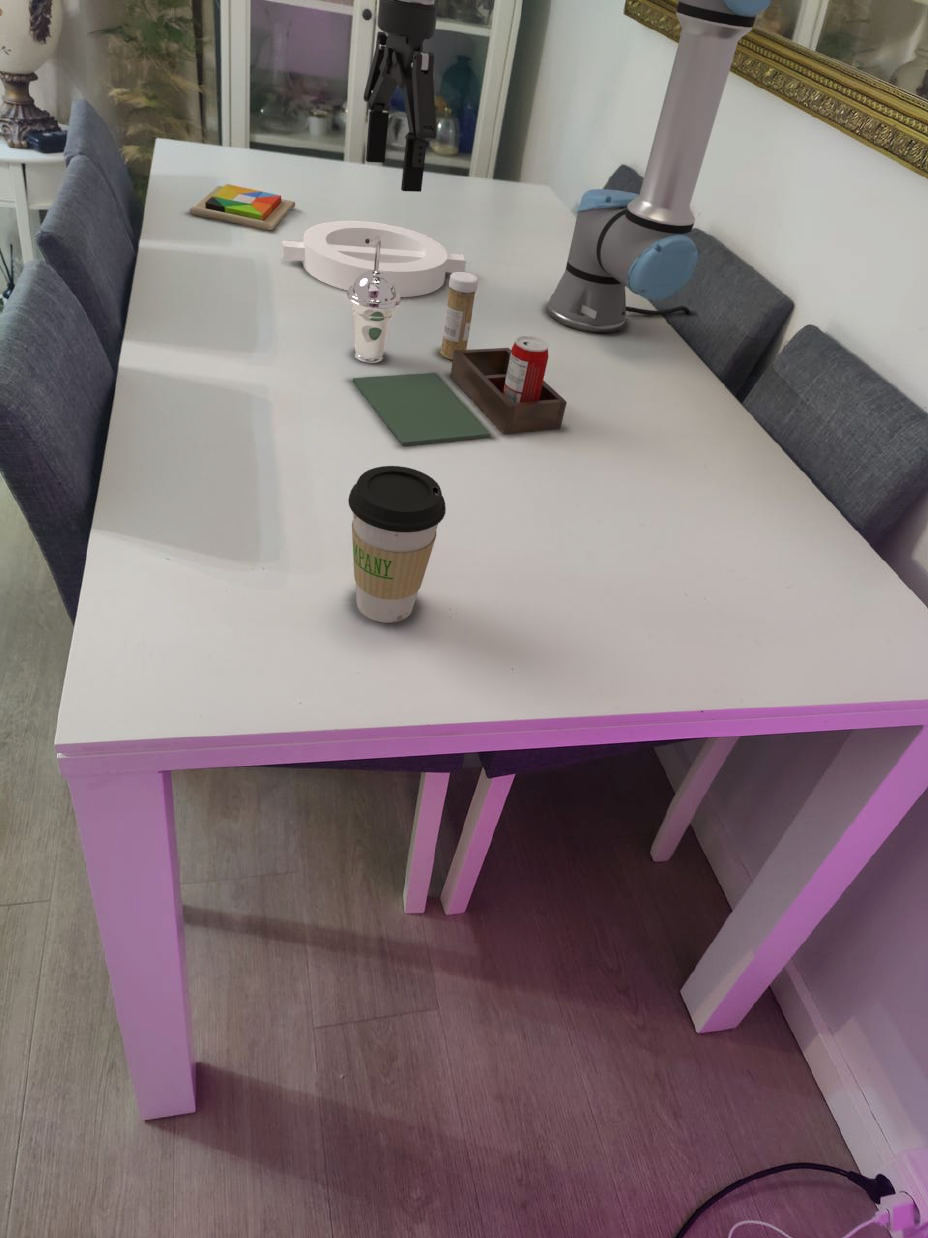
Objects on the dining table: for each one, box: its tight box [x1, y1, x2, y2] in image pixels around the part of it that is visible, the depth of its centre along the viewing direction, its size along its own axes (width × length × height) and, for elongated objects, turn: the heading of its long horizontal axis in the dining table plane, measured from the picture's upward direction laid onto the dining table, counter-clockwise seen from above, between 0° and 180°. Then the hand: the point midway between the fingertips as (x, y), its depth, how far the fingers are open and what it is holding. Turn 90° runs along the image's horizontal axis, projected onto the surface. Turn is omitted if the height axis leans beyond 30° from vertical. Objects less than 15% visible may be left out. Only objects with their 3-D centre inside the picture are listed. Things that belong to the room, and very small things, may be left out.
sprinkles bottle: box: [439, 271, 479, 361], centre depth 149 cm, size 5×5×13 cm
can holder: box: [449, 347, 568, 435], centre depth 141 cm, size 10×19×4 cm, turn 25°
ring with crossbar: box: [281, 220, 467, 298], centre depth 177 cm, size 28×28×5 cm
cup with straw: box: [346, 236, 402, 364], centre depth 141 cm, size 8×9×20 cm
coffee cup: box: [347, 465, 447, 624], centre depth 94 cm, size 10×10×15 cm
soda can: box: [503, 335, 549, 403], centre depth 135 cm, size 6×6×12 cm
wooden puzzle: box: [188, 183, 296, 231], centre depth 192 cm, size 18×19×4 cm
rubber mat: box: [352, 372, 492, 447], centre depth 136 cm, size 14×20×1 cm
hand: (392, 175), depth 129 cm, fingers open, 13 cm apart
